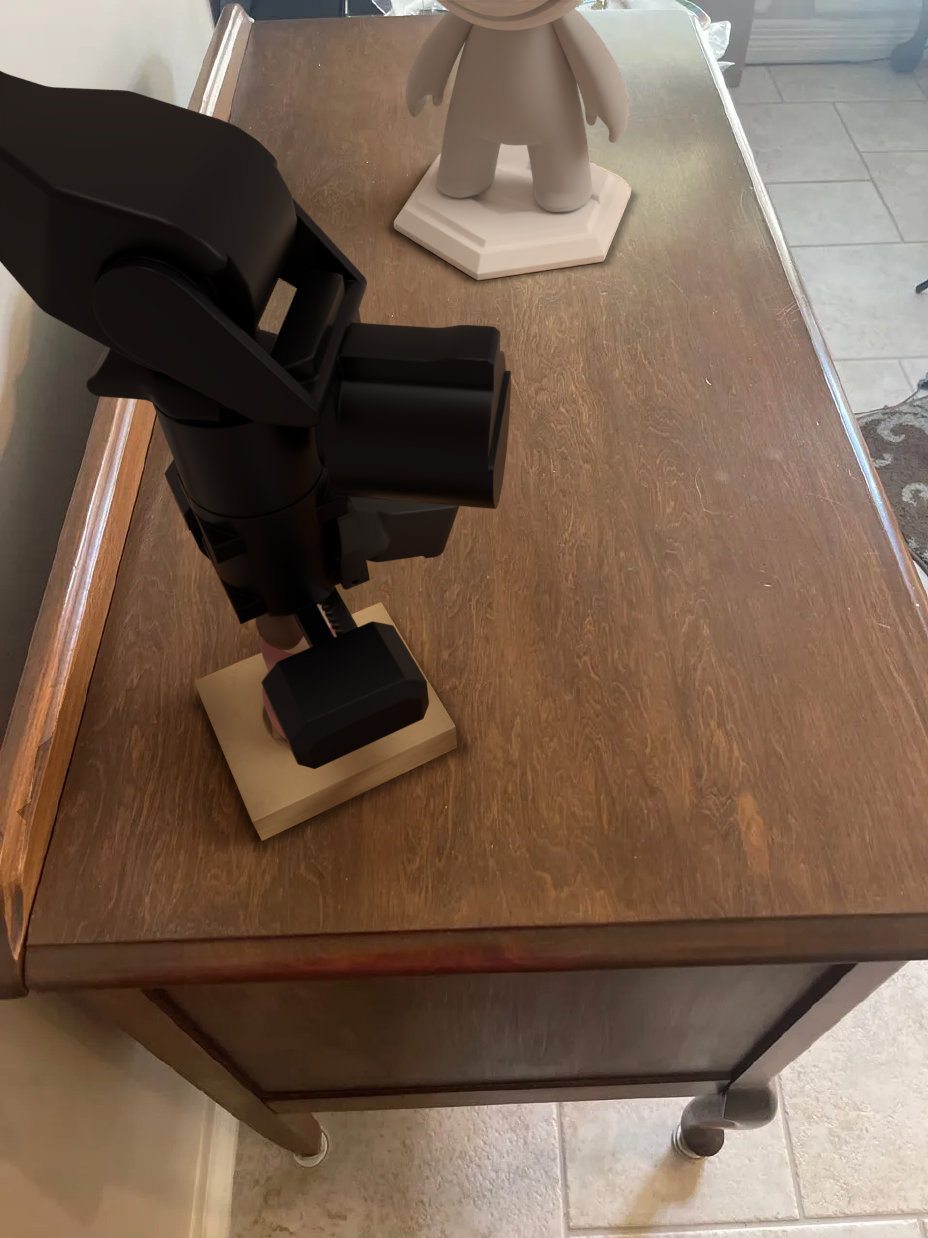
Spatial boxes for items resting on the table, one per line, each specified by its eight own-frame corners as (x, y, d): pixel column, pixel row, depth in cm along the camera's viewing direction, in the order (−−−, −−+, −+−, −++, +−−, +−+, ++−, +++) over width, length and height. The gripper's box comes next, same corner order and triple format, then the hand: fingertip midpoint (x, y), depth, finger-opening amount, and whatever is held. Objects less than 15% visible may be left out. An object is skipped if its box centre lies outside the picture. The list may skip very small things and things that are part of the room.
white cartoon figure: (371, 263, 82) (306, -273, 54) (452, 140, 95) (433, -346, 67) (588, 299, 78) (640, -261, 50) (642, 165, 91) (708, -341, 63)
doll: (290, 765, 50) (252, 667, 42) (253, 682, 53) (212, 577, 45) (391, 720, 51) (372, 618, 43) (349, 642, 54) (325, 534, 47)
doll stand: (262, 841, 50) (252, 822, 48) (204, 703, 55) (193, 680, 53) (457, 748, 53) (455, 726, 51) (384, 625, 58) (380, 601, 56)
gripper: (541, 546, 34) (529, 747, 47) (345, 290, 44) (378, 512, 57) (261, 665, 32) (328, 845, 44) (119, 363, 42) (206, 580, 54)
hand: (314, 675), depth 50 cm, fingers open, 9 cm apart
